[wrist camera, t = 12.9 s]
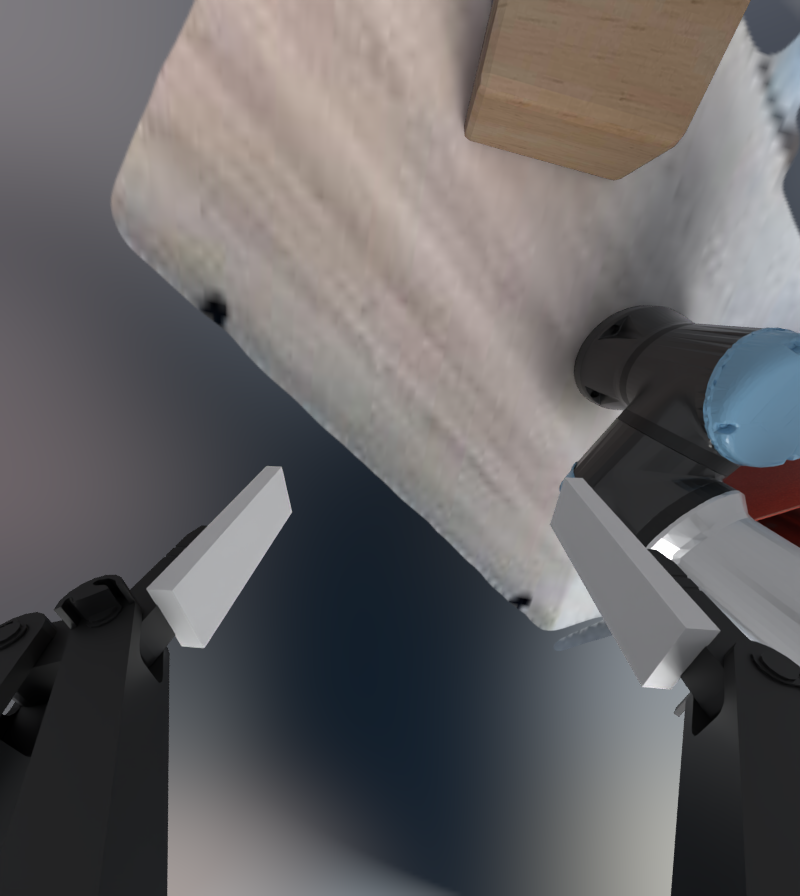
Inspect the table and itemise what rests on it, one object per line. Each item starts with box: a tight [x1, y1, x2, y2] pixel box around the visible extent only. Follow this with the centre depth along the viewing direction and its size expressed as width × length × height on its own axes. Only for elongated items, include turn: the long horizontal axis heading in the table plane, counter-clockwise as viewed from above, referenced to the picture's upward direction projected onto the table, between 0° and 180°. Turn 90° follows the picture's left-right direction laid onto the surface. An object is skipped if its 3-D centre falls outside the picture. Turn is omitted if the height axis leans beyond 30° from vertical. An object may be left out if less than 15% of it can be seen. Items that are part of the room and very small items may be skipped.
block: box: [464, 0, 751, 180], centre depth 28 cm, size 10×10×20 cm
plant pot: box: [723, 458, 800, 548], centre depth 46 cm, size 19×19×17 cm
